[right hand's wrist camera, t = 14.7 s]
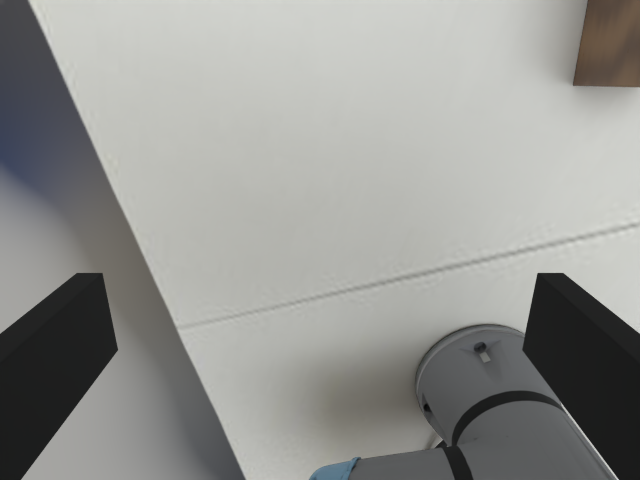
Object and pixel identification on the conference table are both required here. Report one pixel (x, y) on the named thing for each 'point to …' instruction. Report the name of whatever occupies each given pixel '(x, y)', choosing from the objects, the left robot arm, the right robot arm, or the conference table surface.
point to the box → (610, 45)
